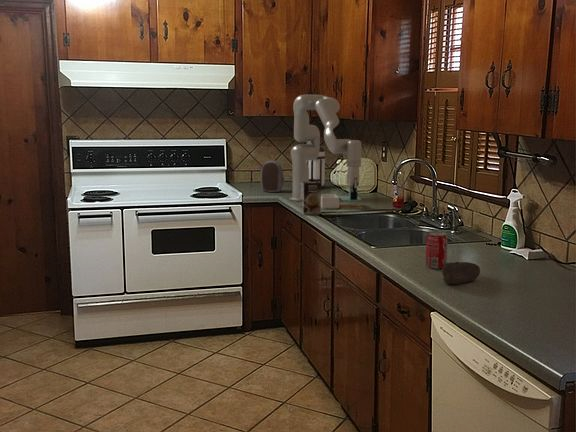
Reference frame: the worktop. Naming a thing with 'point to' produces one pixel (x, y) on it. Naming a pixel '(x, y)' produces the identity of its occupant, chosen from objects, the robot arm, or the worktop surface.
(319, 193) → the coffee box
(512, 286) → the worktop surface
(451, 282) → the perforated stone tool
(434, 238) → the soda can
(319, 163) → the coffee press
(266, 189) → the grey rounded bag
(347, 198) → the lid
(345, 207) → the mat
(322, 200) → the tub
